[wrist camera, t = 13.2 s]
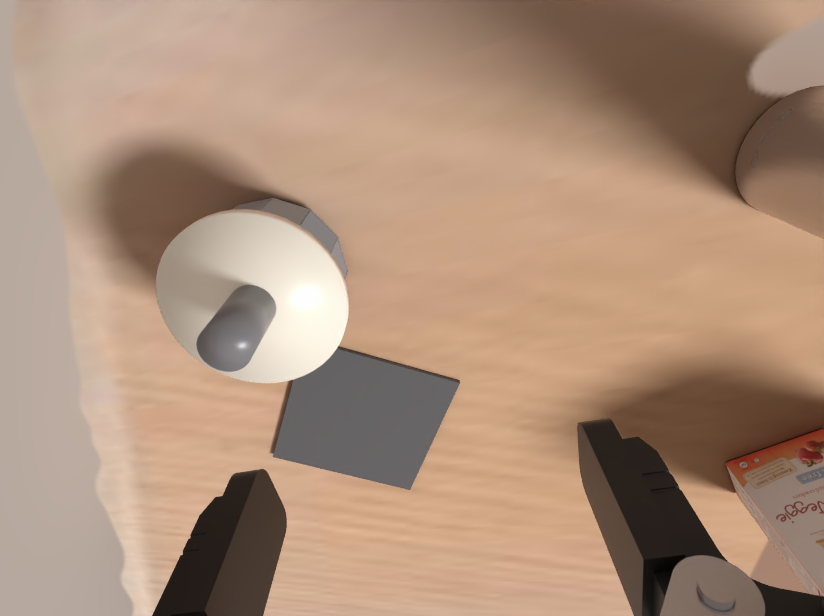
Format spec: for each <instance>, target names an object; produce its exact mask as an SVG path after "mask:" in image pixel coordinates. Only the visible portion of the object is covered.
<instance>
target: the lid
mask: <svg viewBox="0 0 824 616" xmlns="http://www.w3.org/2000/svg"><path fill="white" fill-rule="evenodd" d="M156 295H157V302H158V305H159V308H160V312H161V314H162V317H163V319H164V321H165V323H166V325H167V327H168V328H169V330H170V332H171V333H172V335H173V336H174V337H175V339H176V340H177V341H178V342H179V344H180V345H181V346H182V347H183V348H184V349H185V350H186V351H187V352H188V353H190V354H191V355H192V356H193V357H194V358H196V359H197V360H198V361H200V362H201V363H203V364H204V365H206V366H207V367H209V368H211V369H213V370H215V371H217V372H219V373H221V374H224V375H226V376H229V377H232V378H235V379H239V380H243V381H248V382H256V383H277V382H285V381H289V380H293V379H296V378H299V377H302V376H304V375H306V374H308V373H310V372H312V371H314V370H316V369H317V368H318V367H320V366H321V365H323V364H324V363H325V362H326V361H327V360H328V359H329V358H330V357H331V355H332V354H333V353H334V352H335V350H336V349H337V347H338V345H339V344H340V342H341V340H342V337H343V335H344V332H345V328H346V324H347V320H348V315H349V295H348V289H347V285H346V281H345V279H344V276H343V273H342V271H341V269H340V267H339V265H338V264H337V262H336V260H335V259H334V257H333V256H332V254H331V253H330V252H329V250H328V249H327V248H326V247H325V246H324V245H323V244H322V243H321V242H320V241H319V240H318V239H317V238H316V237H315V236H313V235H312V234H311V233H310V232H308V231H307V230H305V229H304V228H302V227H301V226H299V225H298V224H296V223H294V222H292V221H290V220H288V219H286V218H283V217H281V216H278V215H275V214H272V213H268V212H263V211H258V210H249V209H233V210H226V211H220V212H217V213H214V214H210V215H208V216H205V217H203V218H201V219H199V220H197V221H196V222H194V223H193V224H191V225H190V226H188V227H187V228H185V229H184V230H183V231H181V232H180V233H179V234H178V235H177V236H176V237H175V238H174V239H173V240H172V241H171V243H170V244H169V245H168V247H167V248H166V250H165V252H164V253H163V255H162V257H161V260H160V263H159V266H158V269H157V275H156Z"/></svg>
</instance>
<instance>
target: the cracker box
mask: <svg viewBox="0 0 824 616" xmlns="http://www.w3.org/2000/svg"><path fill="white" fill-rule="evenodd" d="M726 466H727V469H728V472H729V474H730V477H731V480H732V482H733V485H734V488H735V490H736V493H737V496H738V497H739V499H740V500H741V501H742V503H743V504H744V506H745V507H746V508H747V510H748V511H749V513H750V514H751V515H752V517H753V518H754V519H755V521H756V522H757V523H758V525H759V526H760V528H761V529H762V530H763V532H764V533H765V535H766V536H767V537H768V539H769V540H770V541H771V543H772V544H773V546H774V547H775V548H776V550H777V551H778V552H779V554H780V555H781V556H782V558H783V559H784V560H785V562H786V563H787V565H788V566H789V567H790V569H791V570H792V571H793V573H794V574H795V575H796V577H797V578H798V580H799V581H800V582H801V584H802V585H803V586H804V588H805V589H806V590H807V592H808V593H809V594H812V595H818V596H823V597H824V428H823V429H820V430H818V431H815V432H812V433H809V434H806V435H803V436H801V437H798V438H795V439H792V440H789V441H786V442H783V443H780V444H777V445H775V446H772V447H769V448H766V449H763V450H760V451H757V452H755V453H752V454H749V455H746V456H743V457H740V458H737V459H734V460H731V461H728V462H726Z"/></svg>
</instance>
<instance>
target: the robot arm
mask: <svg viewBox="0 0 824 616" xmlns="http://www.w3.org/2000/svg"><path fill="white" fill-rule="evenodd" d="M735 175H736V183H737V187H738V189H739V192H740V194H741V196H742V197H743V198H744V200H745V201H746V202H747V203H748V204H749V205H751V206H752V207H754V208H755V209H756V210H759V211H761V212H763V213H766V214H768V215H770V216H773V217H775V218H777V219H780V220H782V221H784V222H786V223H789V224H791V225H793V226H795V227H797V228H800V229H802V230H804V231H807V232H809V233H811V234H813V235H816V236H818V237H820V238H823V239H824V86H816V87H810V88H806V89H803V90H800V91H797V92H795V93H793V94H791V95H789V96H787V97H785V98H783V99H781V100H780V101H779V102H777V103H776V104H775V105H773V106H772V107H770V108H769V109H768V110H767V111H766V112H765V113H764V114H763V115H762V116H761V117H760V118H759V119H758V120H757V121H756V123H755V124H754V125H753V127H752V128H751V129H750V131H749V132H748V133H747V135H746V137H745V139H744V141H743V143H742V145H741V147H740V151H739V154H738V157H737V160H736V170H735ZM577 430H578V447H579V465H580V473H581V478H582V482H583V486H584V489H585V492H586V495H587V498H588V500H589V503H590V505H591V508H592V510H593V513H594V515H595V518H596V520H597V523H598V525H599V528H600V530H601V533H602V536H603V538H604V541H605V543H606V546H607V548H608V551H609V553H610V556H611V558H612V561H613V563H614V566H615V568H616V571H617V573H618V576H619V578H620V581H621V584H622V586H623V589H624V591H625V594H626V596H627V599H628V601H629V604H630V606H631V609H632V611H633V614H634V616H824V597H823V596H818V595H812V594H807V593H801V592H796V591H791V590H785V589H780V588H775V587H772V586H768V585H765V584H762V583H760V582H758V581H756V580H753V579H751V578H750V577H749V576H748V575H747V574H745V573H744V572H743V571H742V570H740V569H739V568H738V567H736V566H734V565H733V564H731V563H729V562H728V561H727V560H726V559H725V558H724V557H723V556H722V554H721V553H720V552H719V550H718V549H717V547H716V545H715V544H714V542H713V541H712V539H711V537H710V536H709V534H708V533H707V531H706V529H705V528H704V526H703V525H702V523H701V521H700V520H699V518H698V516H697V515H696V513H695V512H694V510H693V508H692V507H691V505H690V504H689V502H688V500H687V499H686V497H685V496H684V494H683V492H682V491H681V490H680V489H679V486H678V484H677V483H676V481H675V479H674V478H673V476H672V475H671V474H670V473H669V470H668V468H667V467H666V465H665V463H664V462H663V460H662V458H661V457H660V455H659V454H658V452H657V451H656V450H654V449H653V448H652V447H651V446H649V445H648V444H647V443H645V442H644V441H643V440H642V439H640V438H639V437H633V438H627V439H622V438H621V436H620V434H619V432H618V430H617V429H616V427H615V425H614V423H613V422H612V420H611V419H609V418H607V419H600V420H594V421H587V422H580V423H578V426H577ZM286 526H287V520H286V512H285V509H284V506H283V504H282V502H281V500H280V498H279V496H278V493H277V491H276V489H275V487H274V485H273V483H272V481H271V479H270V477H269V474H268V473H267V471H266V470H264V469H260V470H253V471H247V472H240V473H235V474H234V475H232V477H231V478H230V480H229V483H228V485H227V487H226V490H225V492H224V494H223V496H220V497H215V498H214V499H213V501H212V502H211V503H210V504H209V505H208V506H207V508H206V509H205V510H204V511H203V512H202V513H201V515H200V516H199V518H198V520H197V522H196V524H195V527H194V529H193V531H192V533H191V538H190V539H188V541H187V543H186V546H185V548H184V550H183V555H181V556H180V558H179V560H178V562H177V564H176V567H175V569H174V571H173V573H172V575H171V577H170V579H169V581H168V583H167V586H166V588H165V590H164V592H163V594H162V596H161V598H160V600H159V602H158V605H157V607H156V609H155V611H154V613H153V615H152V616H263V614H264V610H265V606H266V603H267V599H268V595H269V592H270V588H271V584H272V581H273V577H274V573H275V570H276V566H277V563H278V559H279V555H280V552H281V548H282V544H283V541H284V537H285V533H286Z"/></svg>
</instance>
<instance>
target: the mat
mask: <svg viewBox="0 0 824 616" xmlns="http://www.w3.org/2000/svg"><path fill="white" fill-rule="evenodd" d="M459 384H460V381H459V380H456V379H452V378H448V377H445V376H441V375H438V374H434V373H431V372H427V371H423V370H420V369H416V368H413V367H409V366H406V365H402V364H398V363H395V362H391V361H388V360H384V359H380V358H377V357H373V356H370V355H366V354H363V353H359V352H355V351H352V350H348V349H345V348H341V347H337V349H336V350H335V352H334V353H333V354H332V355H331V357H330V358H329V359H328V360H327V361H326V362H325V363H324V364H323V365H321V366H320V367H318V368H317V369H316V370H314V371H312V372H310V373H308V374H306V375H304V376H302V377H299V378H296V379H294V380H293V383H292V387H291V391H290V395H289V398H288V402H287V406H286V410H285V413H284V417H283V421H282V425H281V428H280V432H279V436H278V440H277V443H276V447H275V451H274V455H273V457H275V458H280V459H284V460H288V461H292V462H296V463H300V464H305V465H309V466H313V467H317V468H321V469H325V470H329V471H334V472H338V473H342V474H346V475H350V476H354V477H358V478H363V479H367V480H371V481H375V482H379V483H383V484H388V485H392V486H396V487H400V488H404V489H408V490H410V489H411V487H412V484H413V482H414V480H415V478H416V476H417V474H418V472H419V469H420V467H421V465H422V463H423V461H424V459H425V457H426V454H427V452H428V450H429V448H430V446H431V444H432V442H433V439H434V437H435V435H436V433H437V431H438V429H439V427H440V424H441V422H442V420H443V418H444V416H445V414H446V412H447V409H448V407H449V405H450V403H451V401H452V399H453V397H454V394H455V392H456V390H457V388H458V386H459Z"/></svg>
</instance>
